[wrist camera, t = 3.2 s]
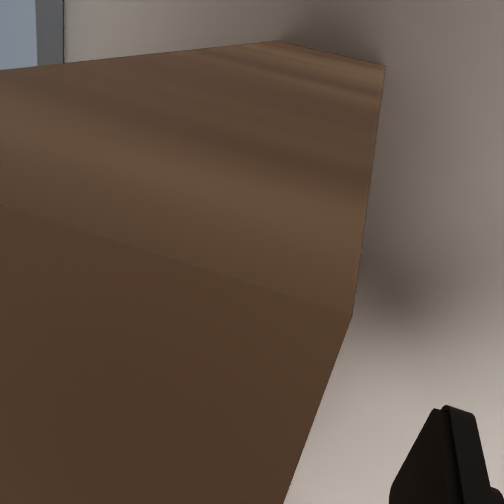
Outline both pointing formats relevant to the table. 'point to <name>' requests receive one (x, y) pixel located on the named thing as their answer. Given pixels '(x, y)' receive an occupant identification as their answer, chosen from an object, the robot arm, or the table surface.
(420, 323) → the table surface
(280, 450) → the door
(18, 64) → the cabinet side
